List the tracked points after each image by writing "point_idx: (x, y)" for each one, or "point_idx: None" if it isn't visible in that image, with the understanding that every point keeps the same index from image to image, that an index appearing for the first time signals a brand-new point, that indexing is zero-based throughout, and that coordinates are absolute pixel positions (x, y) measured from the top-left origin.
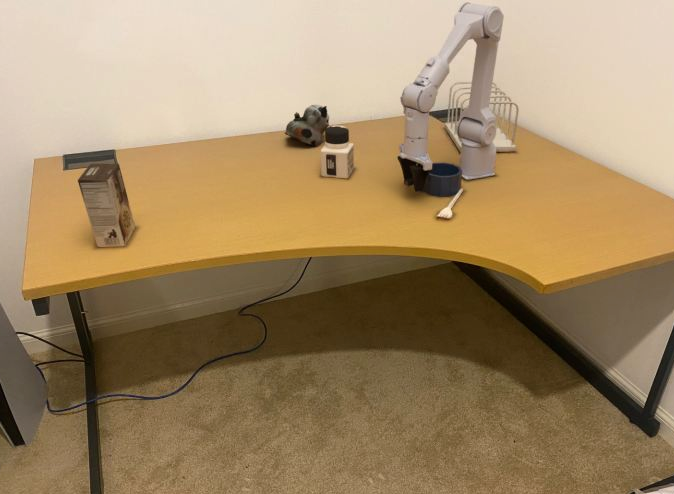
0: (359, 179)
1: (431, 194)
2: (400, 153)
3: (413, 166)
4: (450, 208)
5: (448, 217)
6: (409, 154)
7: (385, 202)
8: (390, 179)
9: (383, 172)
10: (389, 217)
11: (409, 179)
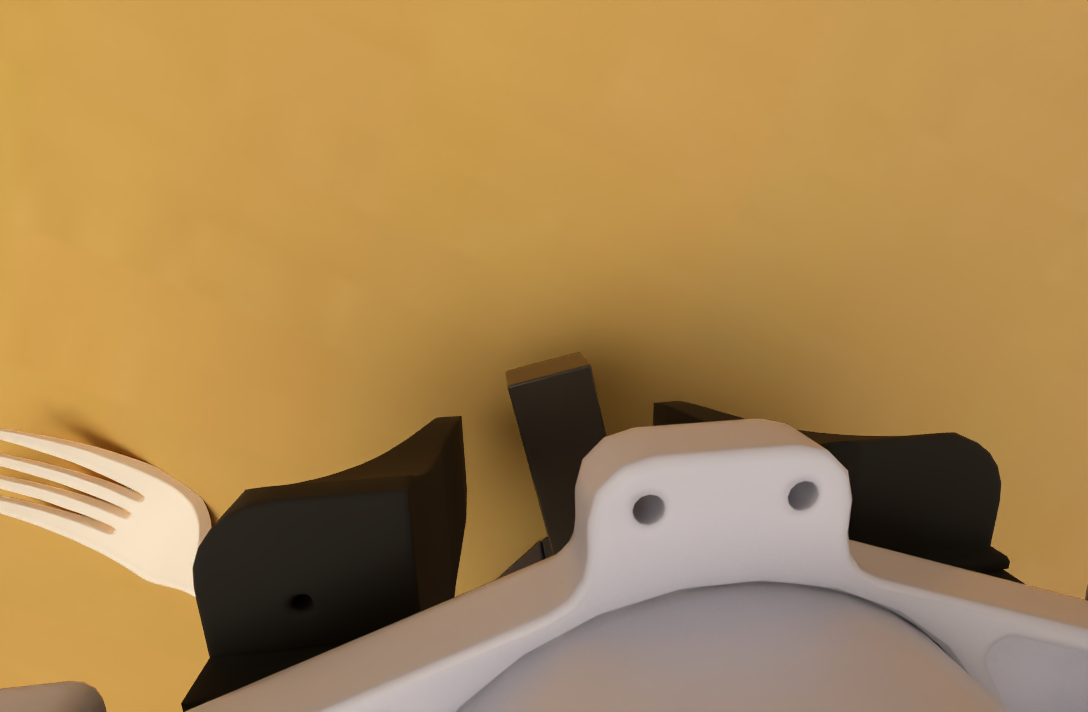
0: (1063, 109)
1: (529, 552)
2: (835, 482)
3: (350, 553)
4: None
5: (18, 518)
6: (536, 704)
7: (534, 138)
8: (926, 365)
9: (1065, 363)
10: (205, 31)
11: (579, 433)
